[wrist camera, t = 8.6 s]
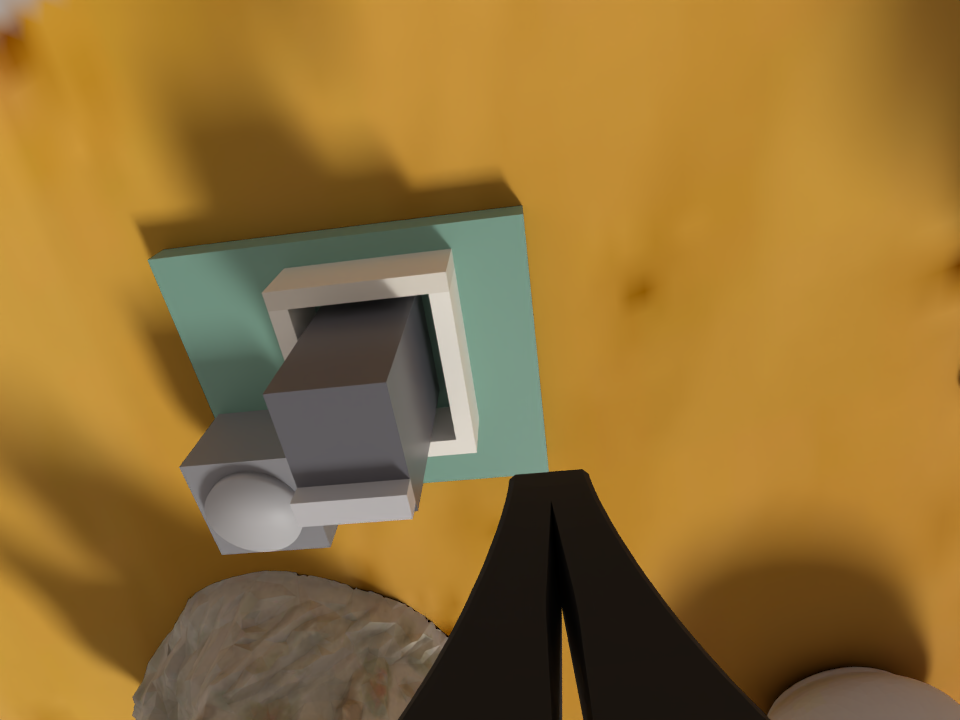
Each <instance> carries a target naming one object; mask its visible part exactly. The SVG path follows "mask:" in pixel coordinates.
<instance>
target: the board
mask: <svg viewBox="0 0 960 720" xmlns="http://www.w3.org/2000/svg"><path fill="white" fill-rule="evenodd" d="M148 262H149V265H150V267H151V269H152V272H153V274H154V276H155V279H156V281H157V283H158V286H159V288H160V290H161V293H162V295H163V297H164V300H165V302H166V305H167V307H168V309H169V312H170V314H171V316H172V319H173V321H174V323H175V326H176V328H177V330H178V333H179V335H180V337H181V340H182V342H183V344H184V347H185V349H186V352H187V354H188V356H189V359H190V361H191V363H192V366H193V368H194V370H195V373H196V375H197V377H198V380H199V382H200V384H201V387H202V389H203V392H204V394H205V396H206V399H207V401H208V403H209V406H210V408H211V410H212V413H213V415H214V417H215V420H214V421H213V422H212V424H211V425H210V426H209V428H208V429H207V430H206V432H205V433H204V434H203V436H202V437H201V439H200V440H199V441H198V443H197V444H196V445H195V447H194V448H193V449H192V451H191V452H190V453H189V455H188V456H187V457H186V459H185V460H184V461H183V463H182V464H181V465H180V467H179V468H180V470H181V472H182V474H183V476H184V478H185V480H186V482H187V484H188V486H189V488H190V490H191V492H192V494H193V496H194V498H195V501H196V503H197V505H198V507H199V509H200V511H201V513H202V515H203V517H204V519H205V521H206V523H207V525H208V527H209V529H210V532H211V534H212V536H213V538H214V540H215V542H216V544H217V546H218V548H219V550H220V552H221V554H222V555H226V554H241V553H255V552H270V551H284V550H298V549H312V548H327V547H331V544H332V541H333V538H334V535H335V532H336V529H337V526H338V524H337V525H324V526H310V527H298V524H297V522H296V519H295V517H294V514H293V511H292V509H291V506H290V502H291V500H292V498H293V496H294V493H295V491H296V489H297V486H296V484H295V481H294V478H293V476H292V473H291V470H290V467H289V465H288V462H287V459H286V457H285V454H284V451H283V448H282V446H281V443H280V440H279V438H278V435H277V432H276V430H275V427H274V424H273V421H272V419H271V416H270V413H269V411H268V408H267V405H266V402H265V400H264V397H263V393H264V391H265V390H266V388H267V387H268V385H269V384H270V382H271V381H272V379H273V378H274V376H275V375H276V373H277V372H278V370H279V369H280V367H281V366H282V364H283V363H284V361H285V360H286V358H287V357H288V355H289V353H290V352H291V350H292V349H293V347H294V346H295V344H296V343H297V341H298V340H299V338H300V337H301V335H302V334H303V332H304V331H305V329H306V328H307V326H308V325H309V323H310V322H311V320H312V319H313V317H314V316H315V314H316V313H317V311H318V310H319V308H320V307H321V306H324V305H333V304H342V303H351V302H360V301H369V300H378V299H387V298H396V297H405V296H414V295H421V297H422V302H423V307H424V312H425V317H426V322H427V327H428V332H429V337H430V342H431V347H432V353H433V358H434V363H435V368H436V373H437V378H438V383H439V388H440V391H439V397H438V403H437V408H436V414H435V419H434V425H433V430H432V436H431V441H430V447H429V452H428V458H427V464H426V469H425V475H424V480H423V483H430V482H443V481H456V480H468V479H481V478H493V477H506V476H514V475H517V474H529V473H542V472H549V470H548V460H547V450H546V440H545V429H544V419H543V409H542V399H541V389H540V379H539V369H538V359H537V349H536V339H535V329H534V318H533V308H532V298H531V288H530V278H529V268H528V258H527V248H526V238H525V228H524V218H523V208H522V205H521V206H513V207H505V208H496V209H488V210H480V211H472V212H464V213H456V214H448V215H440V216H432V217H424V218H416V219H408V220H399V221H391V222H383V223H375V224H367V225H359V226H351V227H343V228H335V229H327V230H319V231H311V232H302V233H294V234H286V235H278V236H270V237H262V238H254V239H246V240H238V241H230V242H222V243H213V244H205V245H197V246H189V247H181V248H173V249H165V250H162V251H161V252H159V253H157V254H156V255H154V256H153V257H151V258H150V259H148Z"/></svg>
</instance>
